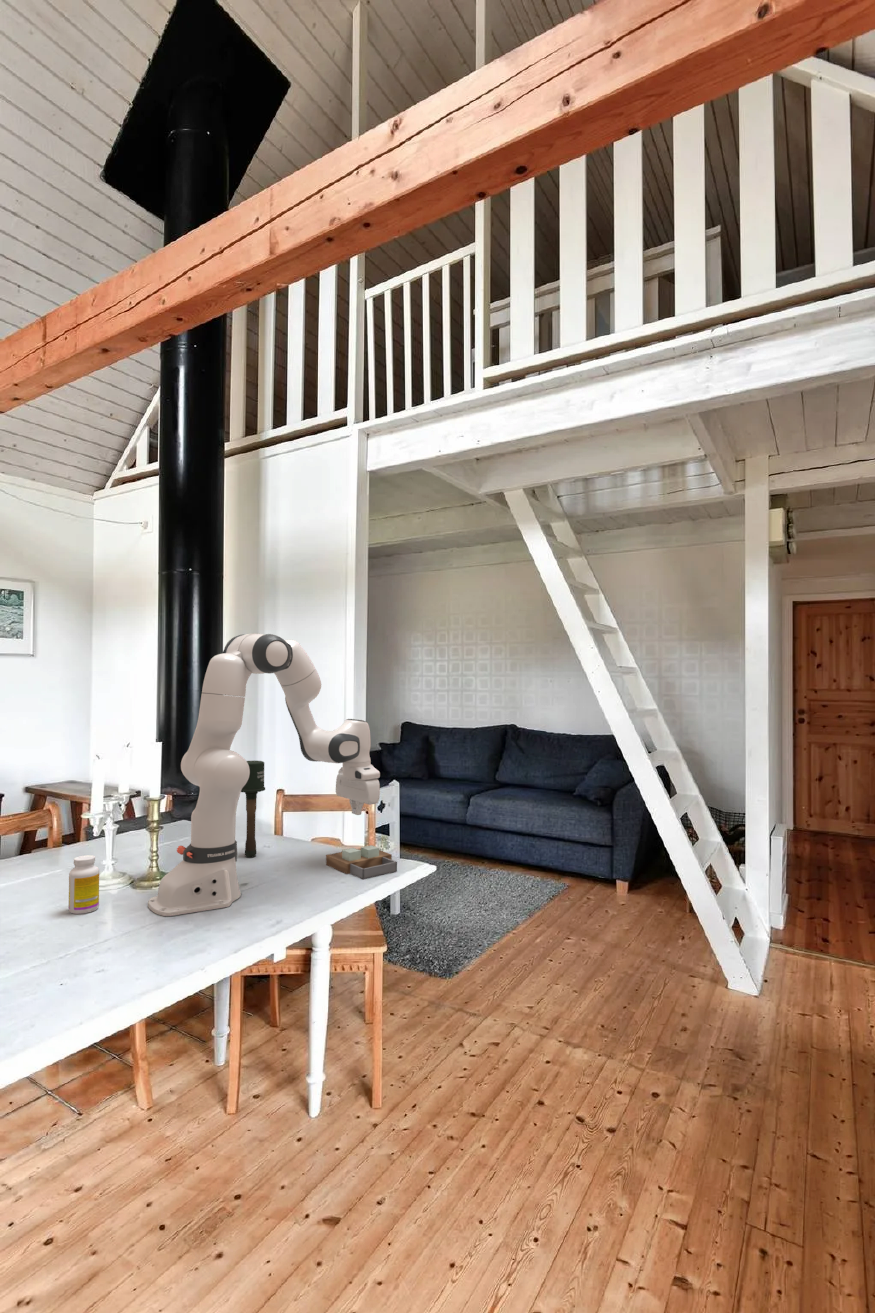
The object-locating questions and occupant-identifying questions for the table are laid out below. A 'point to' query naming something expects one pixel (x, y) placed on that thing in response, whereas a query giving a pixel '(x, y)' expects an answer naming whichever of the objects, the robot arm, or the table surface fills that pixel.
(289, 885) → the table surface
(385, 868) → the tray
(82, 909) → the supplement bottle
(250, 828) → the potato masher grenade
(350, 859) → the tile
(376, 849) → the tile
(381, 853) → the board
